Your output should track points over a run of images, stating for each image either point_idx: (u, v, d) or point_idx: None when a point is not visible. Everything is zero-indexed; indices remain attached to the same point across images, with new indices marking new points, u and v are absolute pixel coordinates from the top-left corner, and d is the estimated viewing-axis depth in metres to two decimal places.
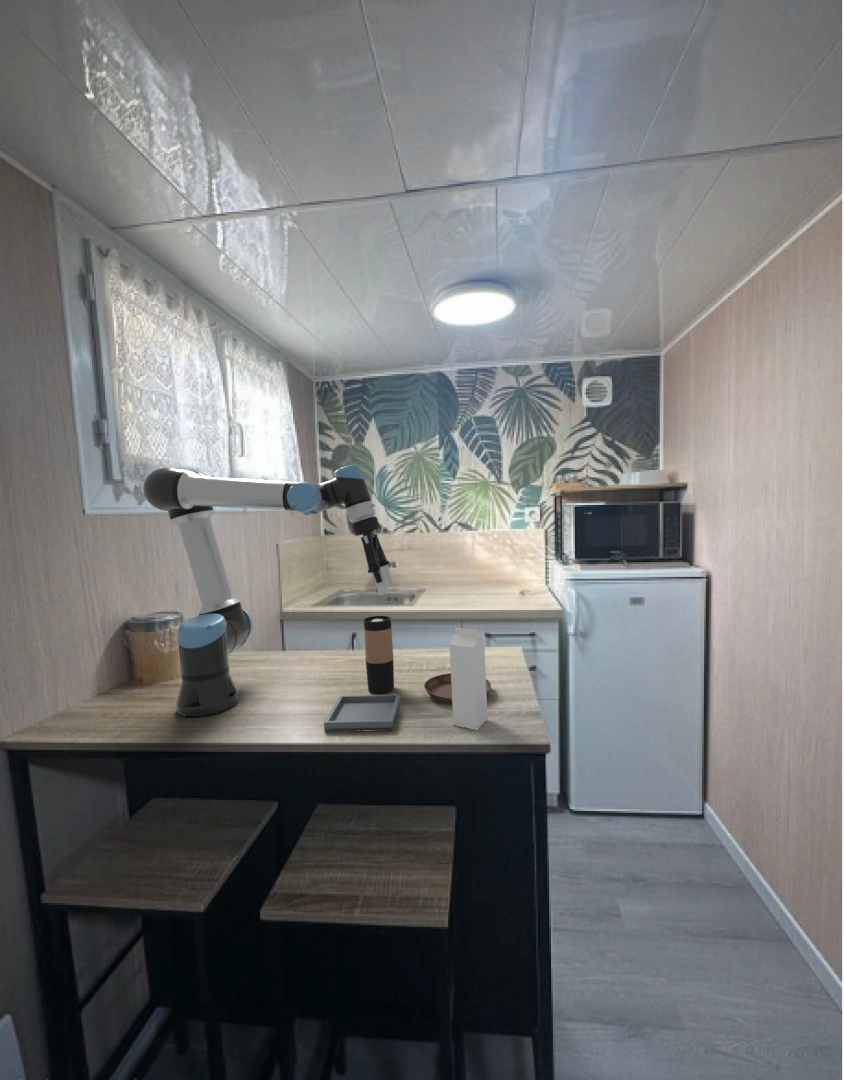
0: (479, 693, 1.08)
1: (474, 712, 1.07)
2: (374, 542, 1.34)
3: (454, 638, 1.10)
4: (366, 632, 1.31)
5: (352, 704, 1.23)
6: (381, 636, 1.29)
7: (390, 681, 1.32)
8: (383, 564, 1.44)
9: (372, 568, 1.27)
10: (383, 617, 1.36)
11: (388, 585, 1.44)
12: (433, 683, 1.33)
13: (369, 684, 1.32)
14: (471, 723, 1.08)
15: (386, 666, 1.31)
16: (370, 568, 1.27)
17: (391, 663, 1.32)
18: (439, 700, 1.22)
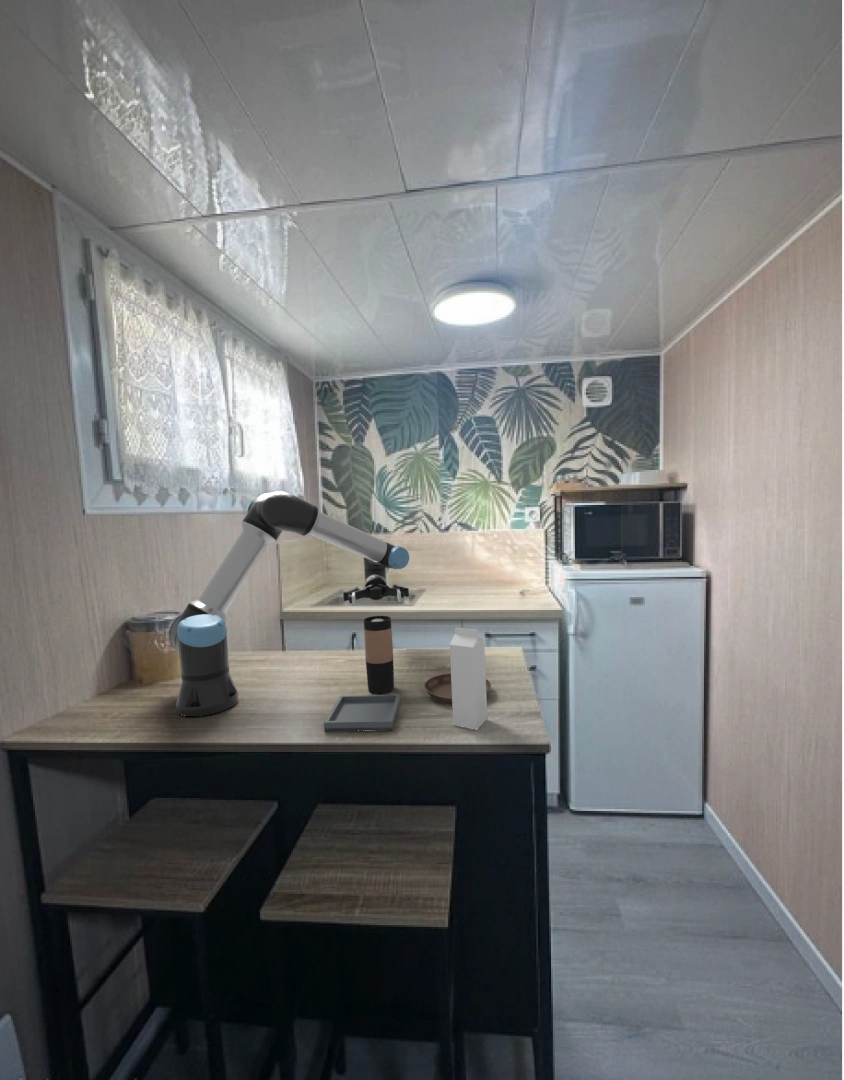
0: (479, 693, 1.08)
1: (474, 712, 1.07)
2: None
3: (454, 638, 1.10)
4: (366, 632, 1.31)
5: (352, 704, 1.23)
6: (381, 636, 1.29)
7: (390, 681, 1.32)
8: None
9: (408, 591, 1.51)
10: (383, 617, 1.36)
11: (354, 599, 1.42)
12: (433, 683, 1.33)
13: (369, 684, 1.32)
14: (471, 723, 1.08)
15: (386, 666, 1.31)
16: None
17: (391, 663, 1.32)
18: (439, 700, 1.22)
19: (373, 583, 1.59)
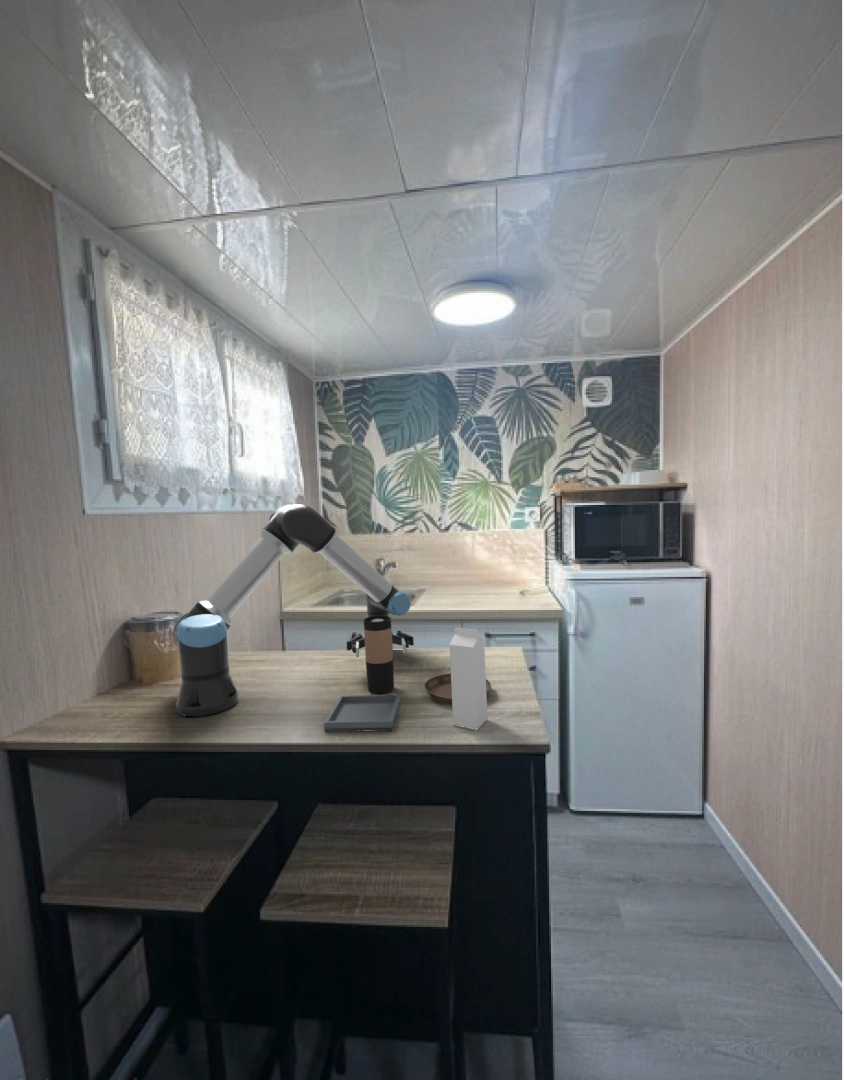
0: (479, 693, 1.08)
1: (474, 712, 1.07)
2: None
3: (454, 638, 1.10)
4: (366, 632, 1.31)
5: (352, 704, 1.23)
6: (381, 636, 1.29)
7: (390, 681, 1.32)
8: None
9: (413, 640, 1.48)
10: (383, 617, 1.36)
11: (358, 651, 1.39)
12: (433, 683, 1.33)
13: (369, 684, 1.32)
14: (471, 723, 1.08)
15: (386, 666, 1.31)
16: None
17: (391, 663, 1.32)
18: (439, 700, 1.22)
19: None
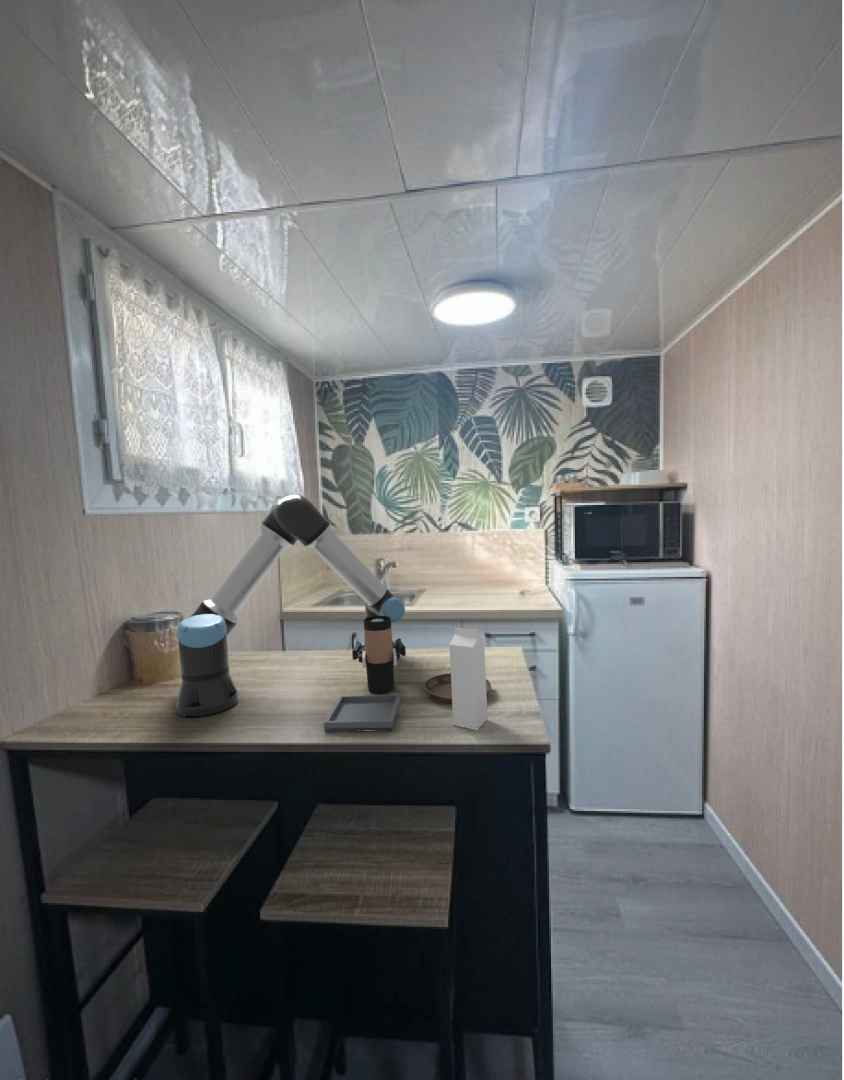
0: (479, 693, 1.08)
1: (474, 712, 1.07)
2: None
3: (454, 638, 1.10)
4: (366, 632, 1.31)
5: (352, 704, 1.23)
6: (381, 636, 1.29)
7: (390, 681, 1.32)
8: None
9: (405, 650, 1.37)
10: (383, 617, 1.36)
11: (365, 661, 1.29)
12: (433, 683, 1.33)
13: (369, 684, 1.32)
14: (471, 723, 1.08)
15: (386, 666, 1.31)
16: None
17: (391, 663, 1.32)
18: (439, 700, 1.22)
19: None
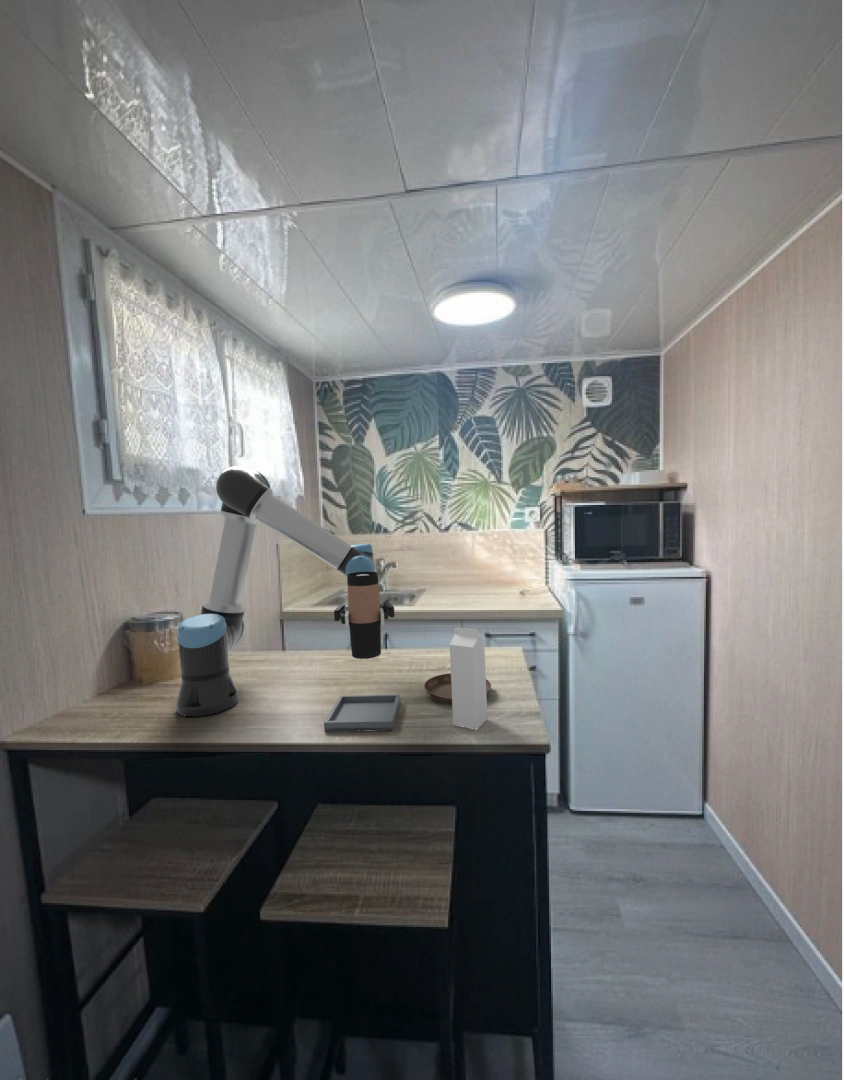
0: (479, 693, 1.08)
1: (474, 712, 1.07)
2: None
3: (454, 638, 1.10)
4: (350, 588, 1.15)
5: (352, 704, 1.23)
6: (367, 592, 1.14)
7: (376, 644, 1.16)
8: None
9: (393, 610, 1.22)
10: (369, 573, 1.20)
11: (348, 620, 1.13)
12: (433, 683, 1.33)
13: (353, 647, 1.16)
14: (471, 723, 1.08)
15: (372, 627, 1.15)
16: None
17: (378, 624, 1.16)
18: (439, 700, 1.22)
19: None
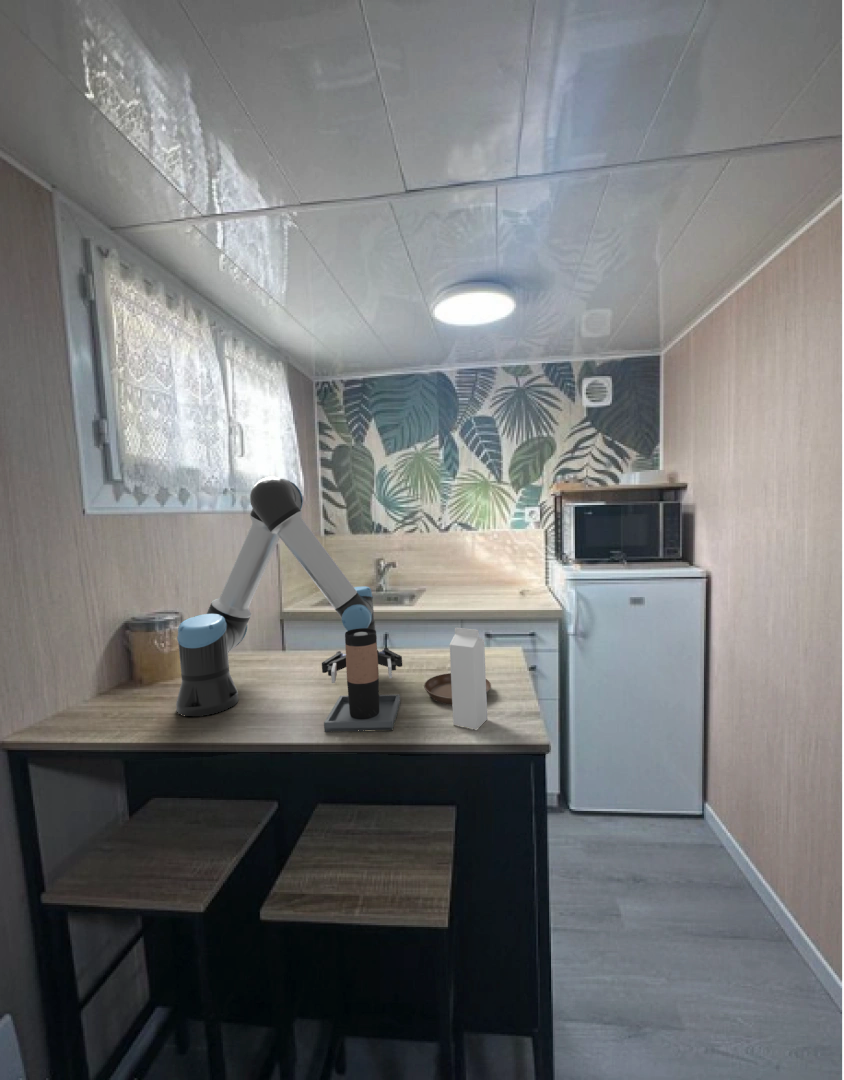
0: (479, 693, 1.08)
1: (474, 712, 1.07)
2: None
3: (454, 638, 1.10)
4: (347, 647, 1.14)
5: None
6: (364, 652, 1.13)
7: (374, 704, 1.15)
8: None
9: (401, 660, 1.22)
10: (368, 630, 1.19)
11: (334, 675, 1.13)
12: (433, 683, 1.33)
13: (351, 707, 1.15)
14: (471, 723, 1.08)
15: (370, 687, 1.14)
16: (401, 658, 1.22)
17: (376, 683, 1.15)
18: (439, 700, 1.22)
19: None
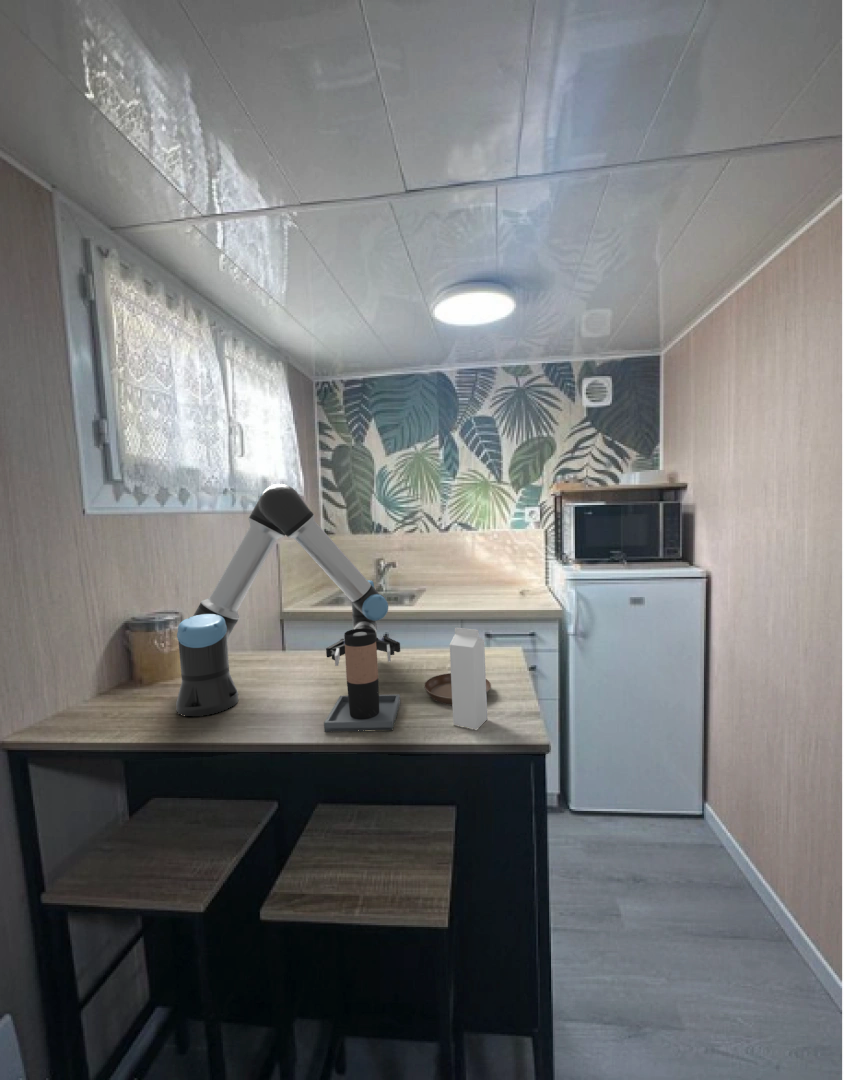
0: (479, 693, 1.08)
1: (474, 712, 1.07)
2: None
3: (454, 638, 1.10)
4: (347, 648, 1.14)
5: None
6: (364, 652, 1.13)
7: (374, 704, 1.15)
8: None
9: (399, 646, 1.34)
10: (367, 630, 1.19)
11: (338, 658, 1.25)
12: (433, 683, 1.33)
13: (350, 707, 1.15)
14: (471, 723, 1.08)
15: (370, 687, 1.14)
16: (399, 644, 1.34)
17: (376, 683, 1.15)
18: (439, 700, 1.22)
19: None
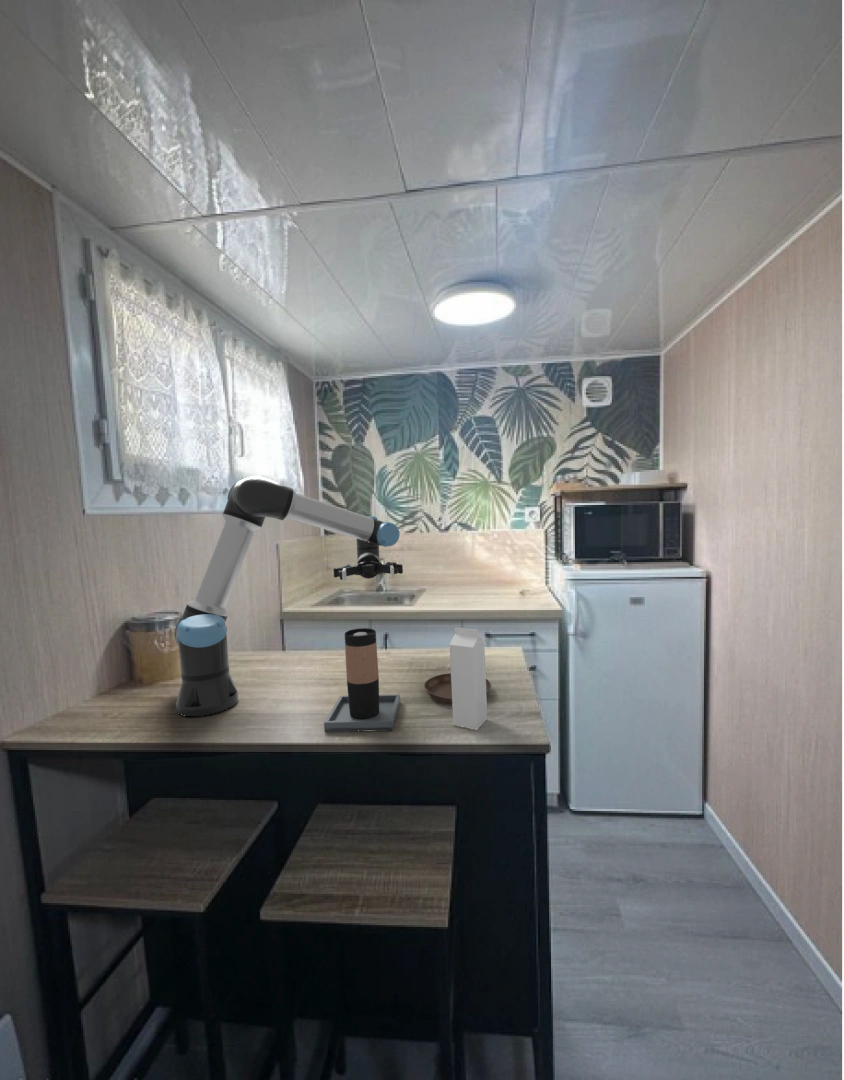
0: (479, 693, 1.08)
1: (474, 712, 1.07)
2: None
3: (454, 638, 1.10)
4: (347, 648, 1.14)
5: None
6: (364, 652, 1.13)
7: (374, 704, 1.15)
8: None
9: (402, 568, 1.43)
10: (367, 630, 1.19)
11: (345, 574, 1.34)
12: (433, 683, 1.33)
13: (350, 707, 1.15)
14: (471, 723, 1.08)
15: (370, 687, 1.14)
16: (402, 566, 1.43)
17: (376, 683, 1.15)
18: (439, 700, 1.22)
19: (365, 560, 1.51)
